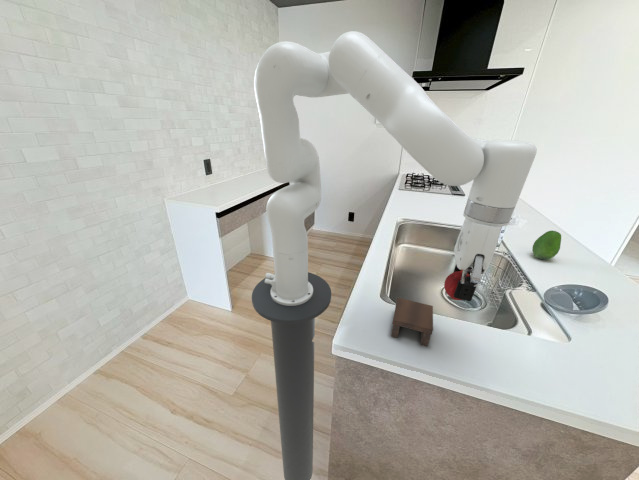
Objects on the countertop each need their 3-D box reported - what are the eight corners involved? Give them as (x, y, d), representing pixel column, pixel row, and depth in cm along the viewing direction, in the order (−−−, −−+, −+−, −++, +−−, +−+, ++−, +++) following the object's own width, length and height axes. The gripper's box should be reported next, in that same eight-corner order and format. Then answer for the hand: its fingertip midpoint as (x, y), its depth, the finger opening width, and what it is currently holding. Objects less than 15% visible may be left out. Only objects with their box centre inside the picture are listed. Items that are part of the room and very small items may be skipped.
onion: (468, 311, 54) (480, 280, 50) (439, 302, 56) (448, 271, 53) (469, 296, 59) (480, 266, 55) (441, 288, 61) (451, 259, 57)
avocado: (558, 264, 98) (572, 235, 93) (535, 262, 99) (547, 233, 94) (546, 254, 105) (558, 227, 100) (524, 252, 106) (535, 225, 101)
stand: (390, 336, 65) (393, 319, 62) (394, 313, 72) (397, 297, 70) (428, 347, 62) (433, 330, 59) (428, 321, 69) (432, 305, 67)
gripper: (460, 196, 56) (440, 266, 64) (471, 224, 42) (443, 309, 50) (500, 201, 54) (473, 273, 62) (525, 232, 40) (487, 321, 48)
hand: (460, 288), depth 56 cm, fingers closed on onion, 5 cm apart
